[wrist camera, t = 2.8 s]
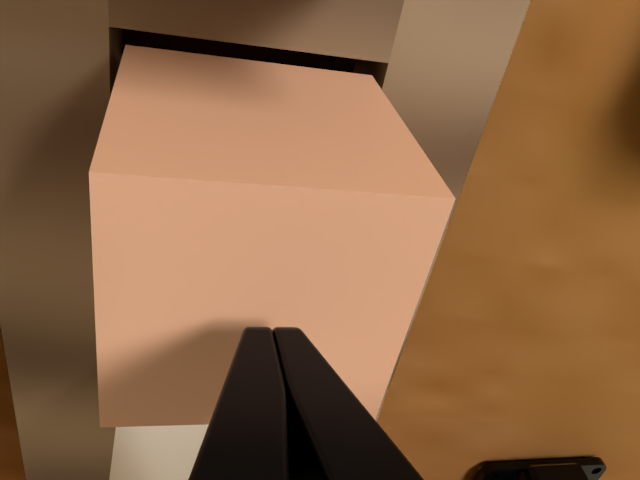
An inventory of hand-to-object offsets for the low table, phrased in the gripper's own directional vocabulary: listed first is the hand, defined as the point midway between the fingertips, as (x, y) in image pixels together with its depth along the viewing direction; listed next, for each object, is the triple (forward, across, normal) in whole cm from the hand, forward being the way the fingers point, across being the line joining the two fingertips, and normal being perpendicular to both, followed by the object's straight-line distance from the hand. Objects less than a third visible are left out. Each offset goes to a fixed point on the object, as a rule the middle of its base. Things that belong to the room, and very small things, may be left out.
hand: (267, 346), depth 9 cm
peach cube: (+6, 0, 0) cm, 6 cm away
